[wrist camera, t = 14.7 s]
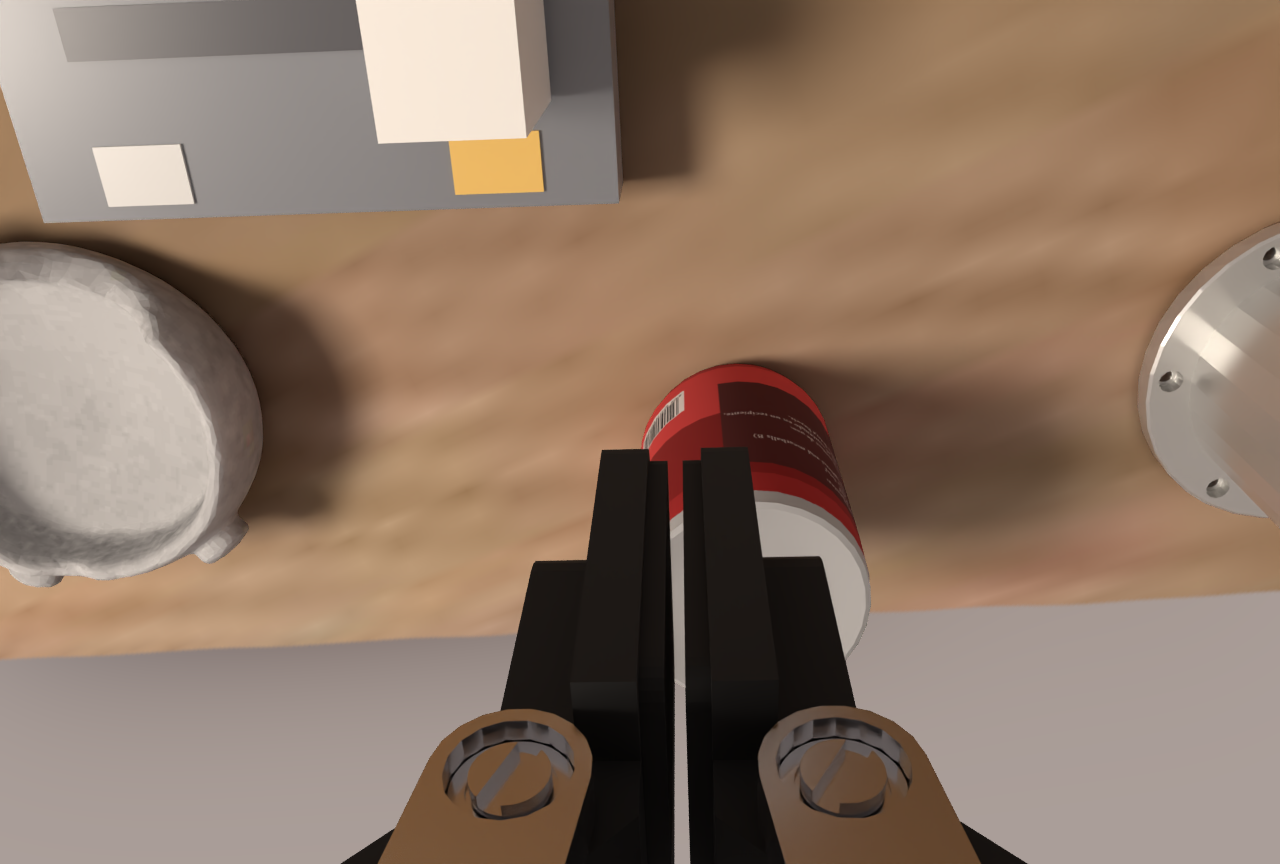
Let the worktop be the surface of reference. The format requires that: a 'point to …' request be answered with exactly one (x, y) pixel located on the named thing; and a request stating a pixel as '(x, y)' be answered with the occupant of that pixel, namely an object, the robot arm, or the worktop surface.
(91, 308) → the dish
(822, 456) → the canned food
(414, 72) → the block
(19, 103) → the breaker panel
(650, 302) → the worktop surface
